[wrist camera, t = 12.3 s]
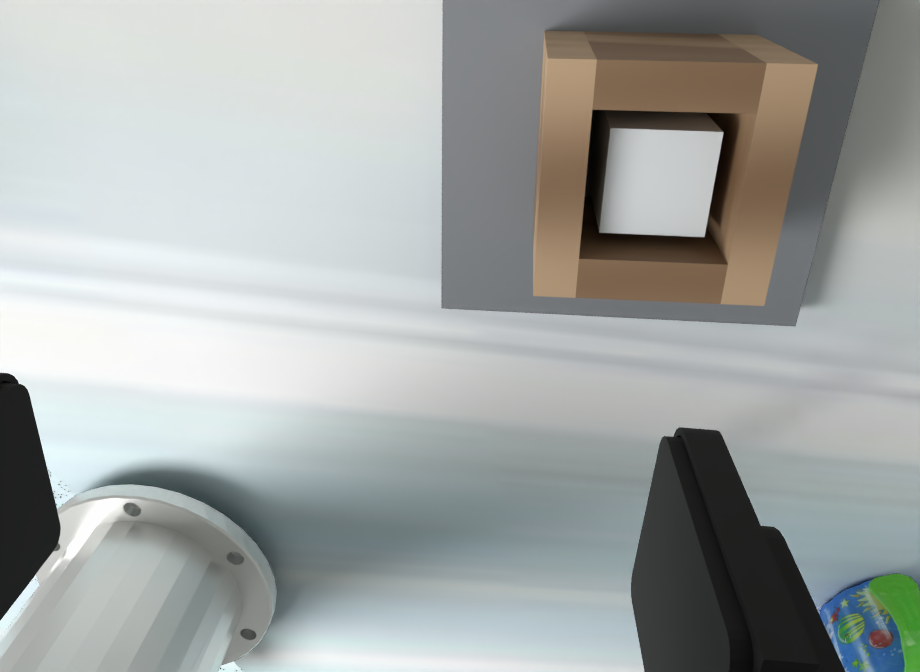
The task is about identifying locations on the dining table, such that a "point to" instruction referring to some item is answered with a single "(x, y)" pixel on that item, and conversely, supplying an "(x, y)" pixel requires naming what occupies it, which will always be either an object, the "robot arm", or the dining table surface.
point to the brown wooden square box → (737, 177)
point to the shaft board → (513, 139)
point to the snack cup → (876, 625)
